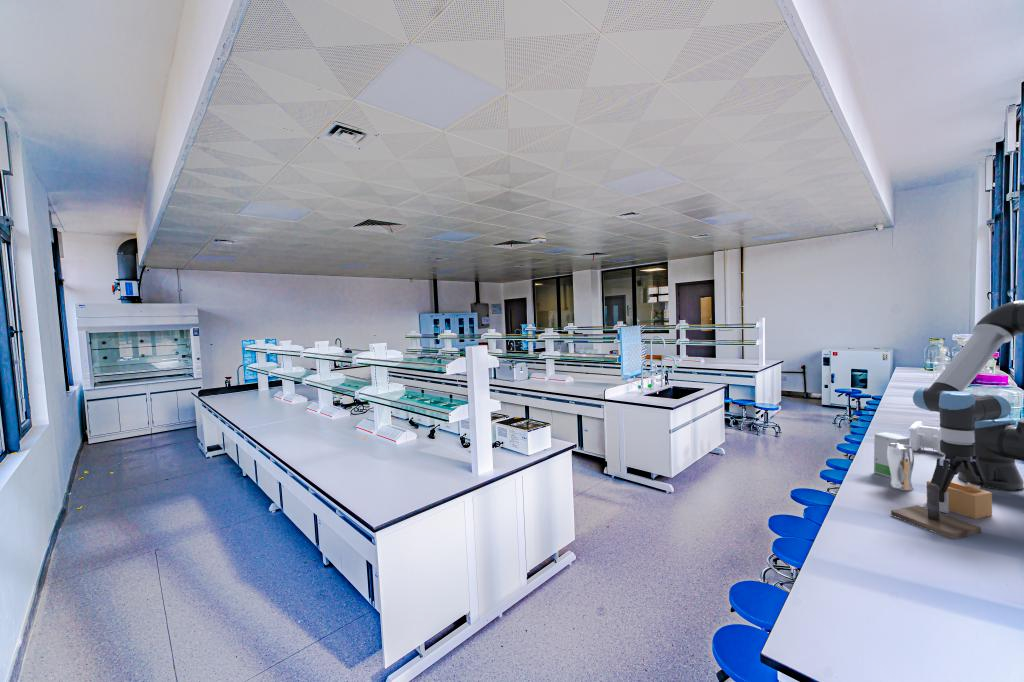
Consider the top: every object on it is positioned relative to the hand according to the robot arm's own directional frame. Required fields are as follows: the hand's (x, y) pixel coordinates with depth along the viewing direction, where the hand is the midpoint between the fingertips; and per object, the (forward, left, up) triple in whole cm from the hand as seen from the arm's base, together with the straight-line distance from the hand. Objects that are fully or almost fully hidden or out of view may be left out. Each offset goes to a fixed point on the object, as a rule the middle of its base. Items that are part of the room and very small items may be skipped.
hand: (958, 508), depth 129 cm
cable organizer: (-53, -40, 0) cm, 66 cm away
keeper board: (+17, +4, 0) cm, 17 cm away
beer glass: (-2, -17, 0) cm, 17 cm away
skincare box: (-11, -26, 0) cm, 28 cm away
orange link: (0, 0, 0) cm, 0 cm away
